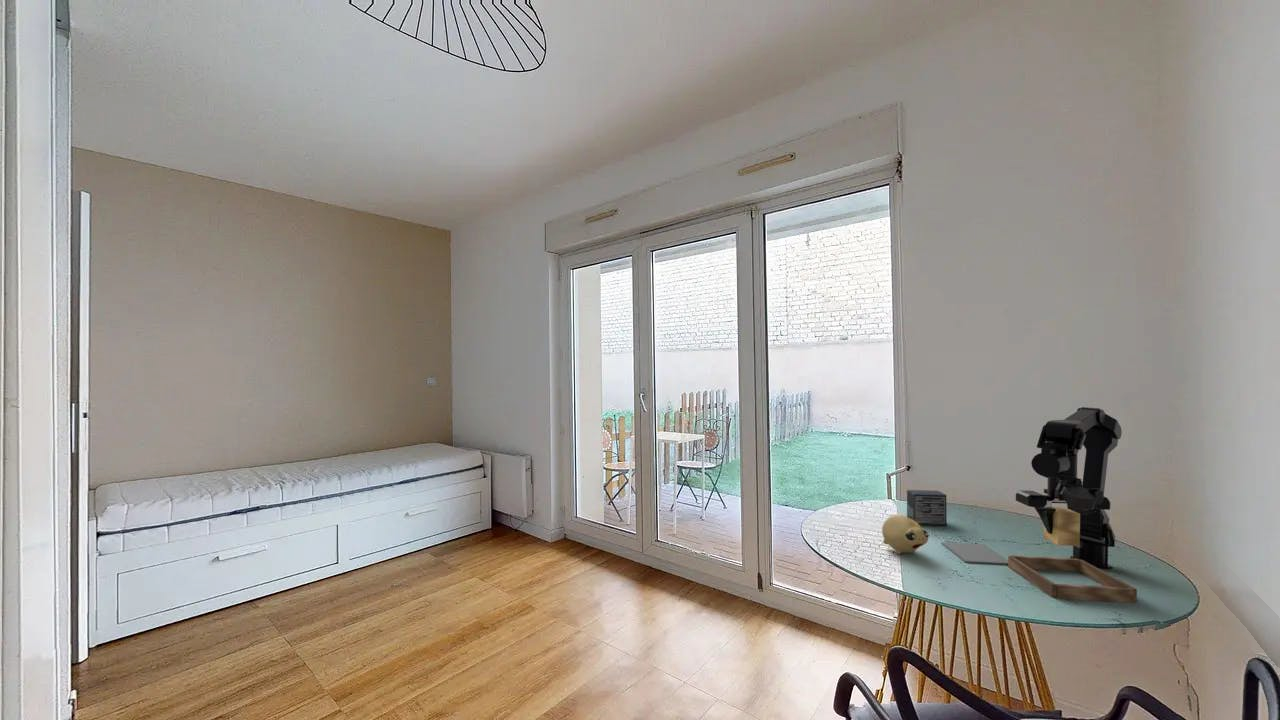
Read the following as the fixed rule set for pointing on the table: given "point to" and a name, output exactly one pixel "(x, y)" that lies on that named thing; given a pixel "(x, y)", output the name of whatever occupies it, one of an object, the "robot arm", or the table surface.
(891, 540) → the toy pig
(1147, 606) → the table surface
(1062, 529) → the ochre block
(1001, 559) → the mat
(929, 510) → the small box
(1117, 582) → the wooden picture frame
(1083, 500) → the robot arm
